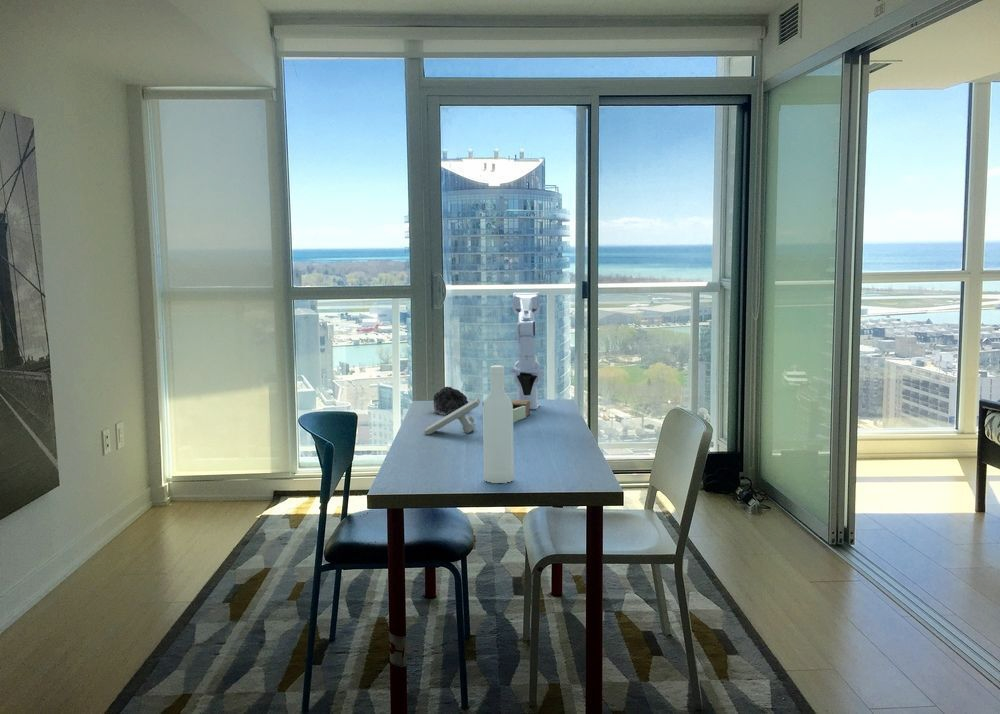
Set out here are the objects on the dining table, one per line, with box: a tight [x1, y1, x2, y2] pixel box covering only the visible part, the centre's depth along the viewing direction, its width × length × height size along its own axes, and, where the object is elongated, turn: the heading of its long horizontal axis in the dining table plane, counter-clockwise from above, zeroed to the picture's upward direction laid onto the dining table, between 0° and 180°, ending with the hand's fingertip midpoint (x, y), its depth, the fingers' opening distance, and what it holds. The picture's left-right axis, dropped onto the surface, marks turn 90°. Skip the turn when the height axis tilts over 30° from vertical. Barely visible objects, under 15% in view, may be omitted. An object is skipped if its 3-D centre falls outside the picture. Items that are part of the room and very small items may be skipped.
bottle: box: [482, 365, 515, 484], centre depth 212 cm, size 8×8×30 cm
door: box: [513, 406, 528, 423], centre depth 284 cm, size 2×16×4 cm, turn 148°
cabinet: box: [482, 399, 531, 417], centre depth 296 cm, size 7×16×5 cm, turn 78°
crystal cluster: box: [433, 386, 469, 416], centre depth 305 cm, size 13×14×10 cm
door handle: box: [424, 397, 481, 435], centre depth 275 cm, size 18×8×20 cm
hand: (527, 395), depth 282 cm, fingers closed
